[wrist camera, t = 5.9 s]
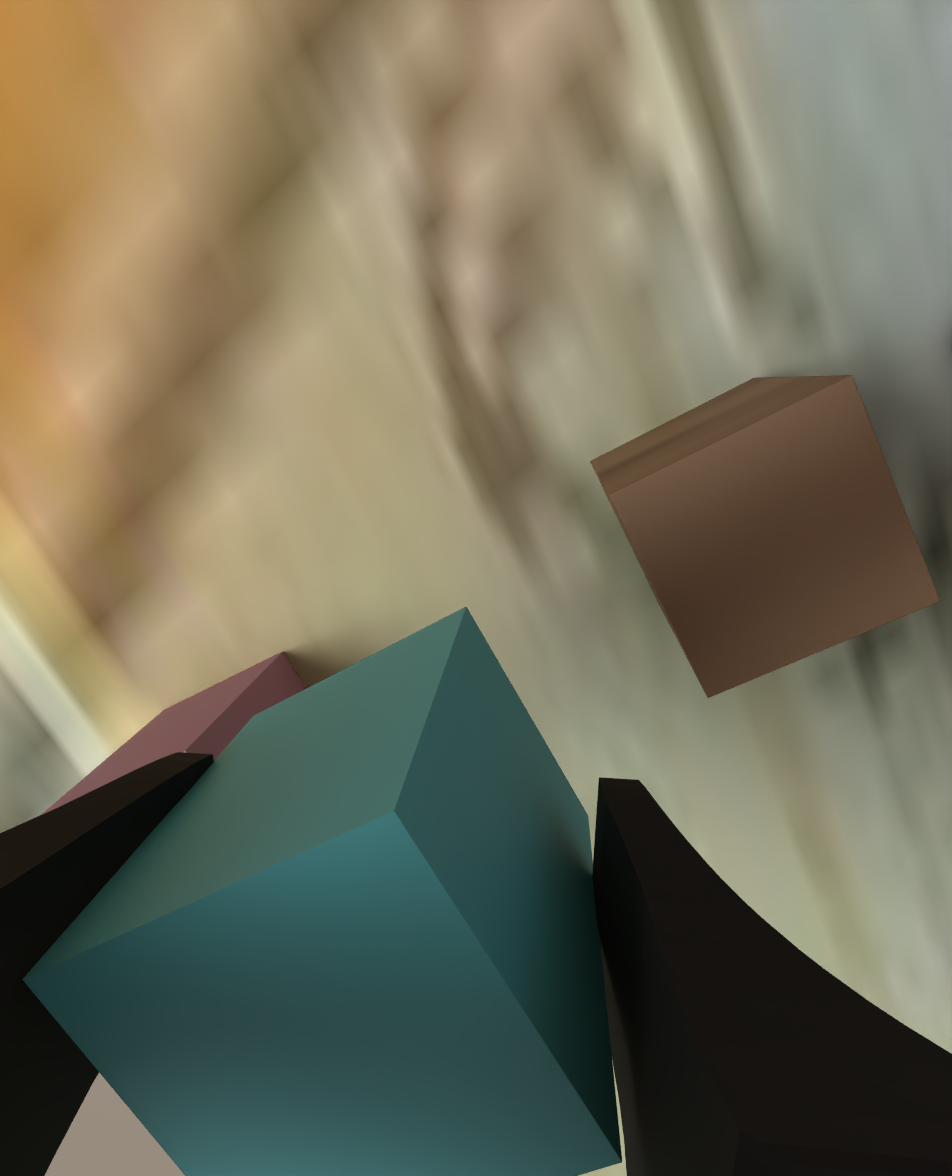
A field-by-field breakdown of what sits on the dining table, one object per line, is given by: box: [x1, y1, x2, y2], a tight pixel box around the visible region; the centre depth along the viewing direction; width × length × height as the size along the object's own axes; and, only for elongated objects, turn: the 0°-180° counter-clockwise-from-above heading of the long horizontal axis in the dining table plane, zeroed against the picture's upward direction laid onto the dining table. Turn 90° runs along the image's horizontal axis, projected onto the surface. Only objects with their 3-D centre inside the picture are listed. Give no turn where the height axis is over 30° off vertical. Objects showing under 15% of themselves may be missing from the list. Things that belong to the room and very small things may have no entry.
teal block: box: [22, 607, 622, 1176], centre depth 10 cm, size 4×4×6 cm
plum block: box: [43, 652, 306, 814], centre depth 19 cm, size 4×4×6 cm
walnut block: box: [590, 375, 940, 698], centre depth 16 cm, size 4×4×6 cm
